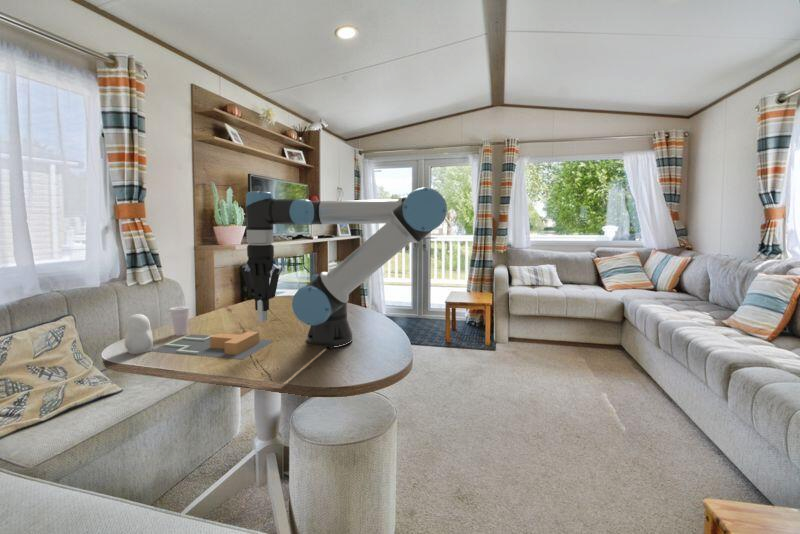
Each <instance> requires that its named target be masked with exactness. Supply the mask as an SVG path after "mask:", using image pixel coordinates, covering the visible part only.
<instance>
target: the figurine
mask: <svg viewBox="0 0 800 534" xmlns="http://www.w3.org/2000/svg"><path fill="white" fill-rule="evenodd" d="M150 322H151V321H150V319H149V318H148V317H147V316H146V315H144V314H142V313H136V314H132V315H130V316H129V317H128V318H127V319H126V322H125V335H124V346H125V347H124V348H125V349H126V350H127V352H128V353H129V354H130V355H138V354H145V353H148V351H150V350H153V345H154V340H153V338H154V337H153V332H152V329H151V323H150Z"/></svg>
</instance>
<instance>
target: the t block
mask: <svg viewBox="0 0 800 534" xmlns="http://www.w3.org/2000/svg"><path fill="white" fill-rule="evenodd" d="M212 335H213V336H211V335H210V336H211V337H210V348H220V349H225V354H232V355H238V354H239V353H241V352H243V351H245V350H247V349H248V348H250V347H252V346H254V345H256V344H257V343H259V339H260V332H258V331H249V330H247V331H245V332H244V333H241V334H233V333H220V332H219V333H215V334H212Z"/></svg>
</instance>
